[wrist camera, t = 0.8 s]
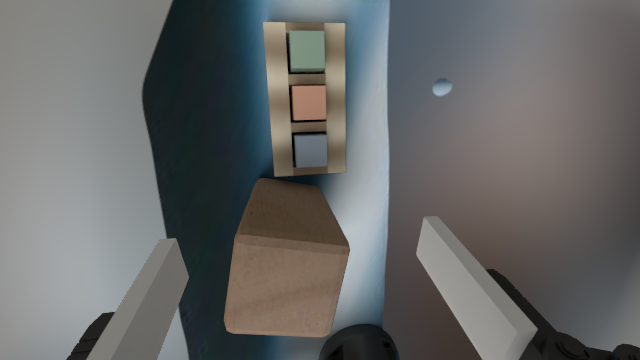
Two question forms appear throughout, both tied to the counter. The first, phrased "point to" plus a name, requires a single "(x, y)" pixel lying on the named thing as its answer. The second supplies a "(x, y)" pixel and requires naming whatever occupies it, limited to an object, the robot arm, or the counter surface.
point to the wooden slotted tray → (283, 81)
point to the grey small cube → (310, 150)
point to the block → (286, 263)
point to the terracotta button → (308, 102)
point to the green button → (306, 51)
